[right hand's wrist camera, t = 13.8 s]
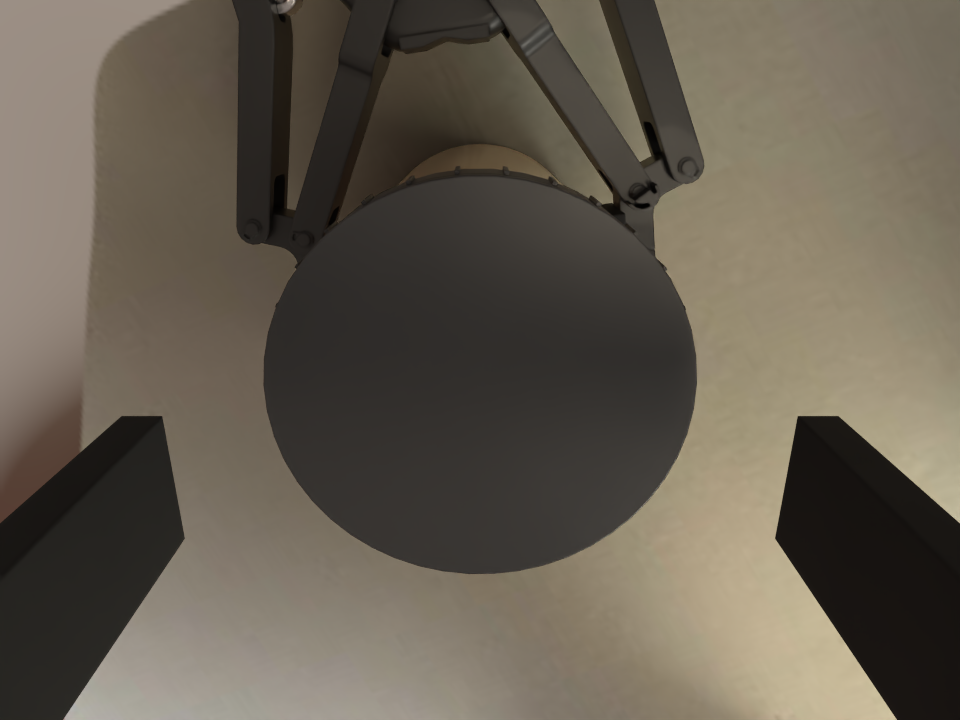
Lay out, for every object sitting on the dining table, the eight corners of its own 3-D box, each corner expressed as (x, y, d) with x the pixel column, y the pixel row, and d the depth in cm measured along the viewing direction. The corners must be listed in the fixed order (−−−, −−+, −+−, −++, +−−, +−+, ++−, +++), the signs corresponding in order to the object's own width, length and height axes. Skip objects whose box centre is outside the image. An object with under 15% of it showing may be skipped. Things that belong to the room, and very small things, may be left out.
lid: (751, 246, 17) (778, 260, 15) (591, 580, 21) (600, 618, 19) (334, 101, 16) (318, 101, 14) (242, 483, 19) (222, 516, 18)
